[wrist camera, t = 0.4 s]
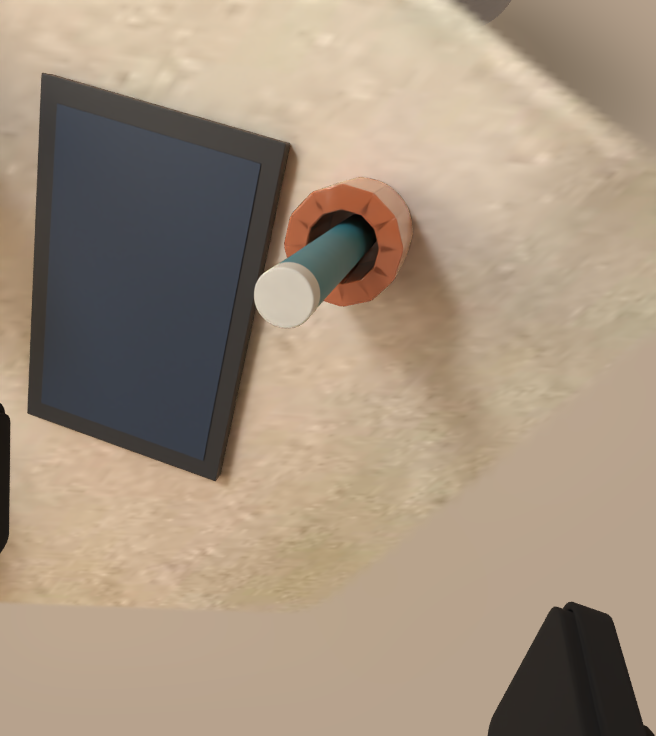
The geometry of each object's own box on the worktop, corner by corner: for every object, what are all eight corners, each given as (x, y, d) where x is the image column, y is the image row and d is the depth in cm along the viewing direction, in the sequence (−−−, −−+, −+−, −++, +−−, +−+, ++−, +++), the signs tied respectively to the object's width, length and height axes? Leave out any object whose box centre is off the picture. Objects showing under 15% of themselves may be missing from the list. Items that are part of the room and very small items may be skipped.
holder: (326, 165, 28) (299, 171, 24) (426, 194, 28) (417, 205, 23) (303, 263, 30) (274, 285, 26) (395, 292, 30) (381, 320, 25)
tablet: (51, 74, 30) (40, 72, 29) (290, 143, 28) (285, 143, 28) (35, 408, 38) (26, 414, 37) (220, 474, 37) (215, 482, 36)
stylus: (347, 208, 28) (260, 259, 17) (383, 218, 28) (320, 278, 16) (337, 244, 29) (248, 318, 17) (373, 255, 29) (305, 337, 17)
